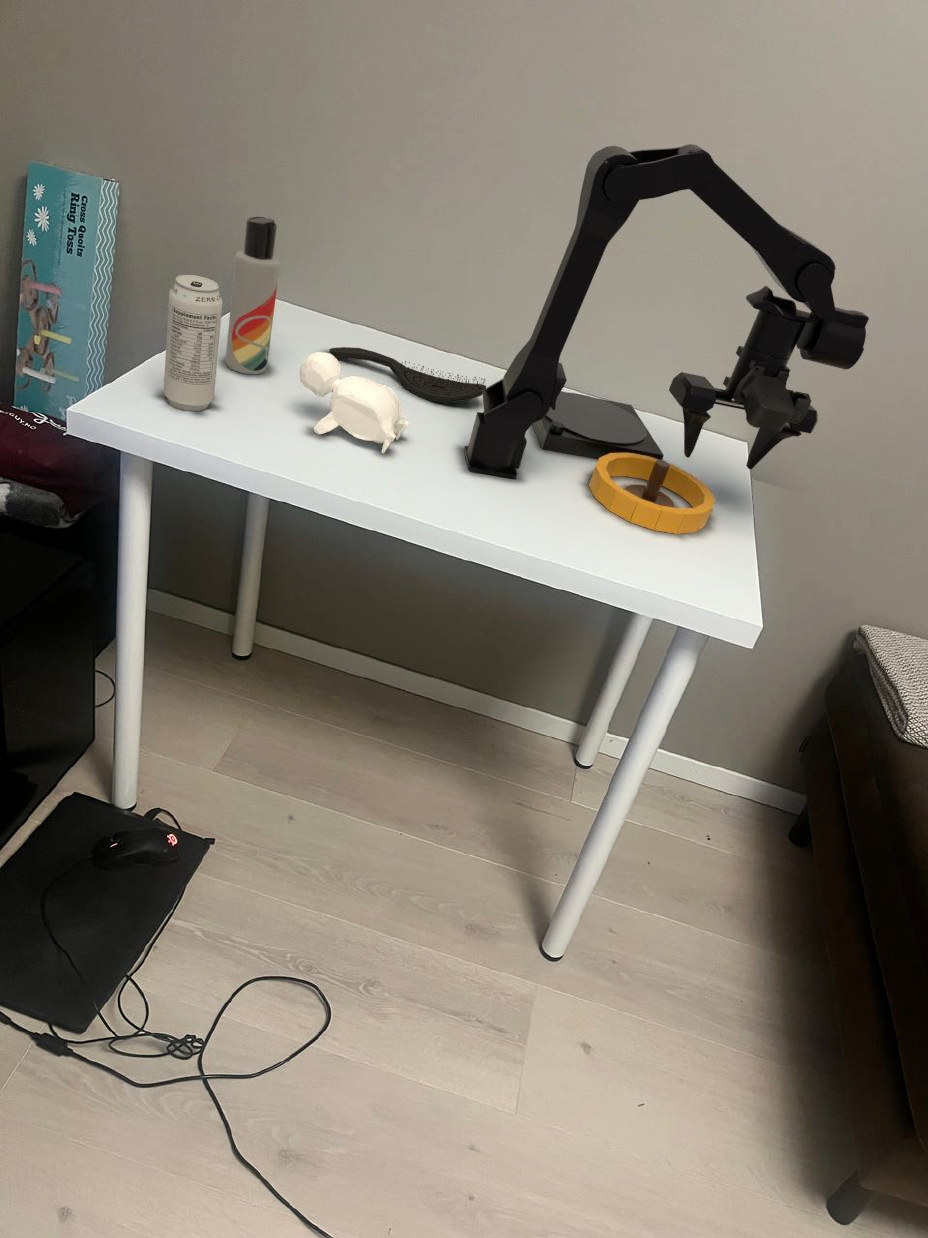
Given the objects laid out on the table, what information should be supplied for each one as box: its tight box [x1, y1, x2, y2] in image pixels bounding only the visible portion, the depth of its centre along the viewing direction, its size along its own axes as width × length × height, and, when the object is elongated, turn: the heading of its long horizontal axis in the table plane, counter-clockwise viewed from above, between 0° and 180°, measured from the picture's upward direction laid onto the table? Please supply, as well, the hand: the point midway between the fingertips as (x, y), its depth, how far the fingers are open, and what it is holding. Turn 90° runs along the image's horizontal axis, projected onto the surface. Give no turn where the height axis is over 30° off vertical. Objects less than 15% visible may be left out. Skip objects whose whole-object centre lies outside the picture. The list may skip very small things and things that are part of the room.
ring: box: [588, 453, 715, 535], centre depth 123 cm, size 16×16×3 cm
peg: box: [623, 459, 675, 508], centre depth 122 cm, size 7×7×6 cm
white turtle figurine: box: [299, 351, 410, 454], centre depth 117 cm, size 9×8×15 cm
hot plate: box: [531, 390, 665, 460], centre depth 138 cm, size 18×18×3 cm
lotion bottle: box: [225, 216, 281, 375], centre depth 122 cm, size 6×6×20 cm
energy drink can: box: [163, 274, 224, 412], centre depth 110 cm, size 6×6×15 cm
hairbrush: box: [328, 346, 487, 404], centre depth 137 cm, size 8×4×25 cm
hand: (717, 462), depth 121 cm, fingers open, 9 cm apart
